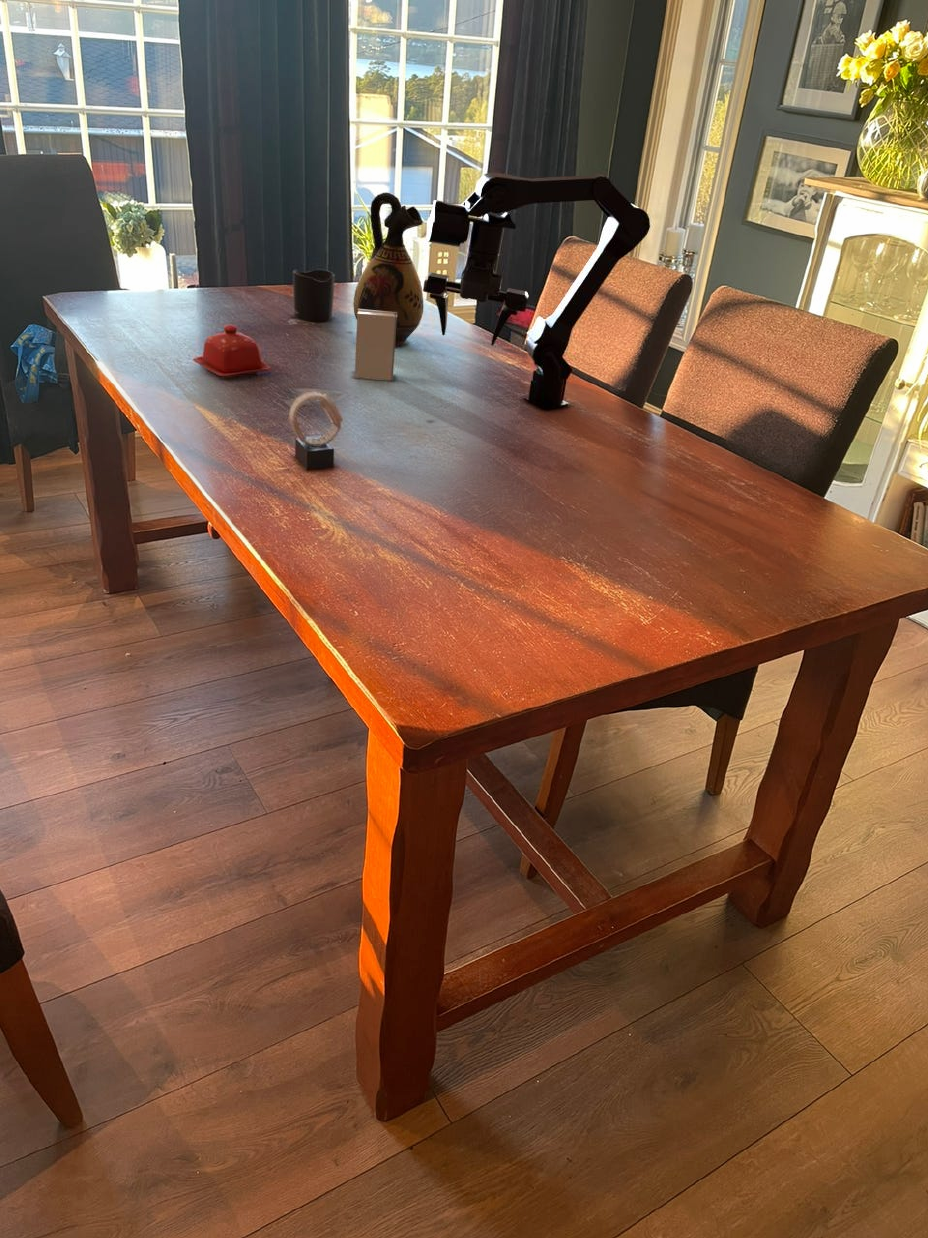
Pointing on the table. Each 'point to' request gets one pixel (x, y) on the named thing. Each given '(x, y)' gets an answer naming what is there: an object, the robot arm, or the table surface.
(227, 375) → the butter dish
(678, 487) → the table surface
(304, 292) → the pen holder
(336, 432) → the ring sculpture
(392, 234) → the ceramic jug
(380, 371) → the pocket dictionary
